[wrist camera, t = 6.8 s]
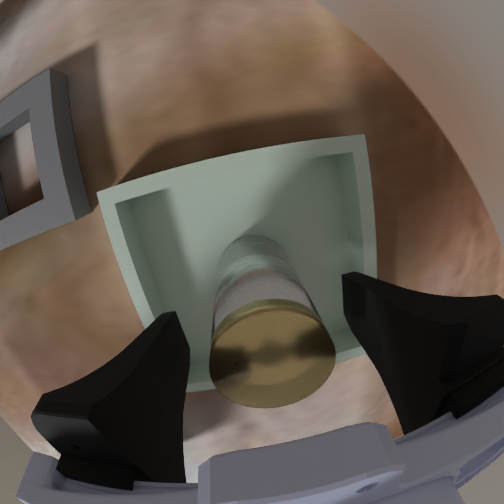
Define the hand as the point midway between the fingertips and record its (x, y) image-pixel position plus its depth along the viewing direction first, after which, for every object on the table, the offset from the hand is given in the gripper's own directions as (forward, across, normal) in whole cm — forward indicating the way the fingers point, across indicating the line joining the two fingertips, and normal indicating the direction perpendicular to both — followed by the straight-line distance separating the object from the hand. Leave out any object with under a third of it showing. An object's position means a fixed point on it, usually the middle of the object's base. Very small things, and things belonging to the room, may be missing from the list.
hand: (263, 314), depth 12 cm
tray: (+5, 0, 0) cm, 5 cm away
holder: (+5, +13, -10) cm, 17 cm away
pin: (+4, 0, 0) cm, 4 cm away
